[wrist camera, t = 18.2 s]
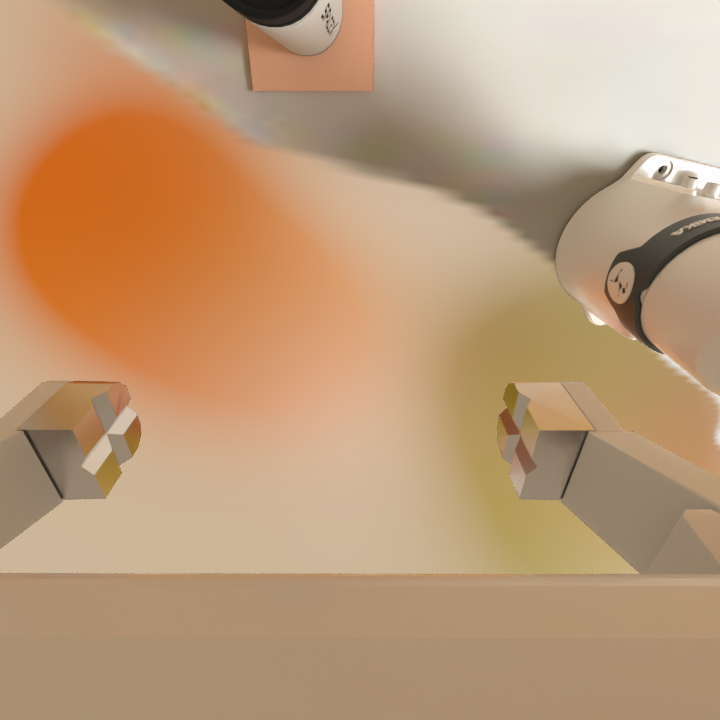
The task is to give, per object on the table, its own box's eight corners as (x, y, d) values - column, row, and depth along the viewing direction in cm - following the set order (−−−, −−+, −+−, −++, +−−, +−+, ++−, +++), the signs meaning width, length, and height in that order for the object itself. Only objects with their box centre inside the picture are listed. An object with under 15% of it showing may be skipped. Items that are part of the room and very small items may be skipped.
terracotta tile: (375, -74, 33) (375, -77, 32) (372, 91, 39) (372, 91, 38) (236, -74, 33) (234, -78, 32) (254, 90, 39) (253, 90, 38)
